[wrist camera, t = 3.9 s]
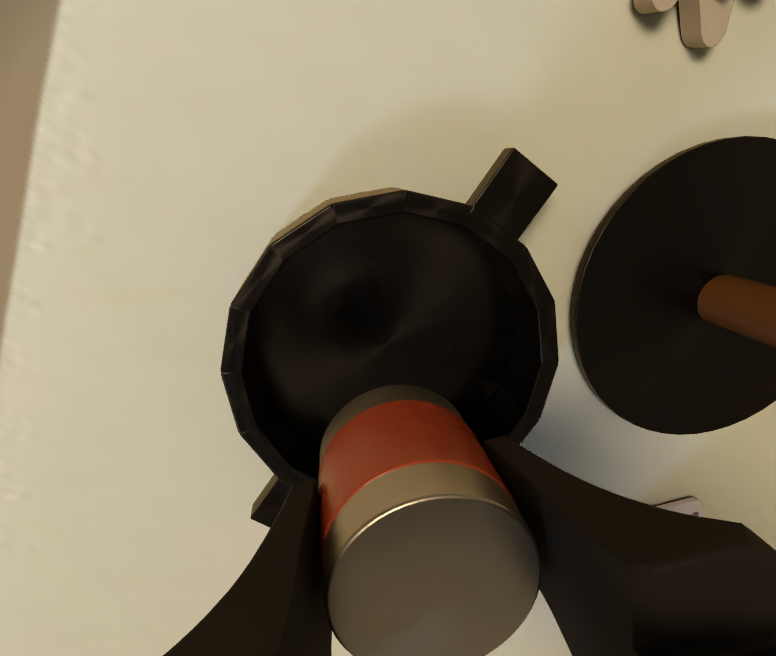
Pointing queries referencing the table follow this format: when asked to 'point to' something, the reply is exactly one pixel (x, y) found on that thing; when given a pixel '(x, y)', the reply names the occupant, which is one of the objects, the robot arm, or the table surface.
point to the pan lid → (685, 291)
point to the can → (419, 532)
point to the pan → (392, 318)
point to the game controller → (695, 18)
